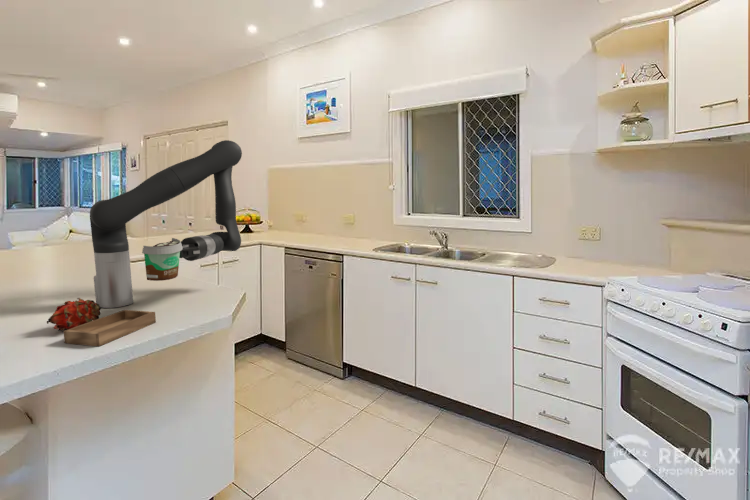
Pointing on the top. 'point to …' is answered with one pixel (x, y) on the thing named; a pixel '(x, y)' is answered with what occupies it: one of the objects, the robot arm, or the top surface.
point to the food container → (162, 260)
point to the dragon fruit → (74, 314)
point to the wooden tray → (109, 328)
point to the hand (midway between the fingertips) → (160, 255)
